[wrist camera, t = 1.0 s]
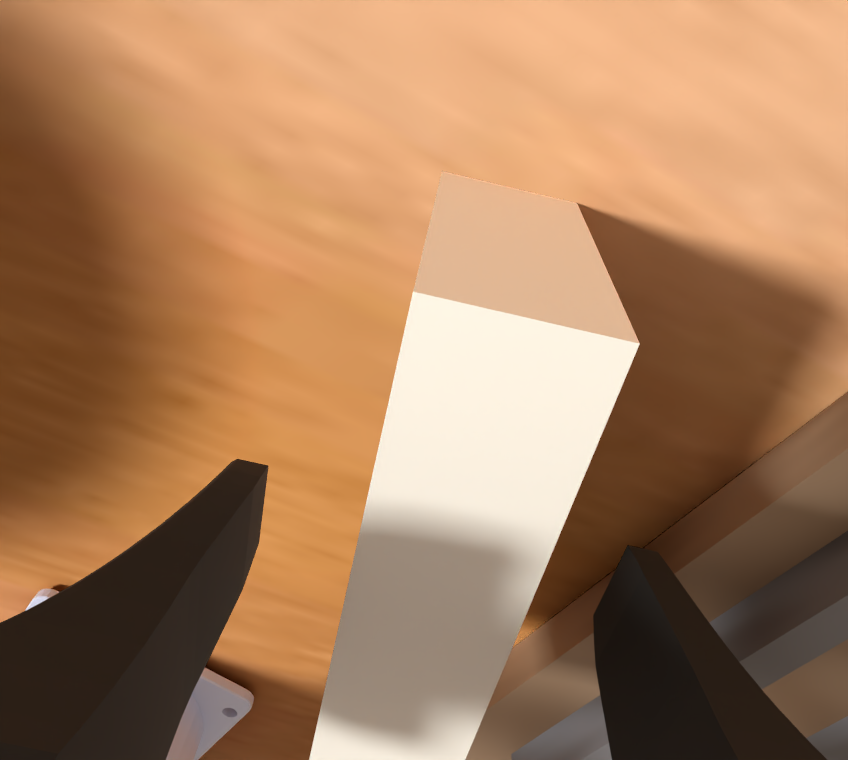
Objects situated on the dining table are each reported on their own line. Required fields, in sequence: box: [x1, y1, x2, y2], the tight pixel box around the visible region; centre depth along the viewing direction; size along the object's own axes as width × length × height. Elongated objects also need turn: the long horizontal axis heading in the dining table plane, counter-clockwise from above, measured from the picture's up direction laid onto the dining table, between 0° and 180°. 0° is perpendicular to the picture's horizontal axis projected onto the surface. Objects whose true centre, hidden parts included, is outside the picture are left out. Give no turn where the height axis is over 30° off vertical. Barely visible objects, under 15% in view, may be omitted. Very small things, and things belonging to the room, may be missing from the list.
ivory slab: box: [309, 171, 640, 760], centre depth 15 cm, size 12×3×7 cm, turn 168°
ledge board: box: [465, 392, 848, 760], centre depth 20 cm, size 18×11×3 cm, turn 143°
